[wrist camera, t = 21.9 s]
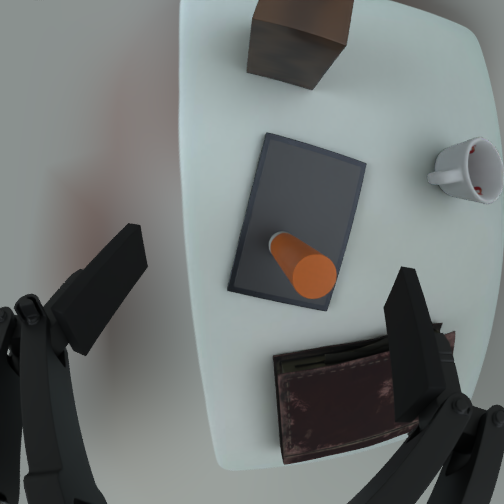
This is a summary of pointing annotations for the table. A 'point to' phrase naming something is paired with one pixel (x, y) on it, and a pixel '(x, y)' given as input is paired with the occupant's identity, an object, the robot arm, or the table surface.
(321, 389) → the diary
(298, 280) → the orange cylinder
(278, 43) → the tall brown-topped block
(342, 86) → the table surface
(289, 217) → the tablet
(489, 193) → the cup
